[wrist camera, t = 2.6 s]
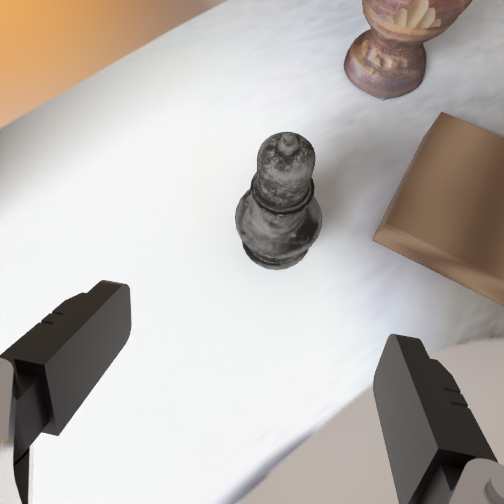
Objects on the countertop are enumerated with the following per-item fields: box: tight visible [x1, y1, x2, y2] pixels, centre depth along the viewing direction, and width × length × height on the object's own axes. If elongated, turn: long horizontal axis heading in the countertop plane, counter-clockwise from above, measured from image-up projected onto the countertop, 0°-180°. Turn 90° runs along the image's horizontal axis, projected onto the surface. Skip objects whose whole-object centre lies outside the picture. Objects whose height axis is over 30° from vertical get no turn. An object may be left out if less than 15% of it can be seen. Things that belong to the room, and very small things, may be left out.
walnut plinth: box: [372, 112, 504, 306], centre depth 25 cm, size 11×11×3 cm
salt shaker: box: [235, 132, 322, 270], centre depth 20 cm, size 6×6×12 cm
